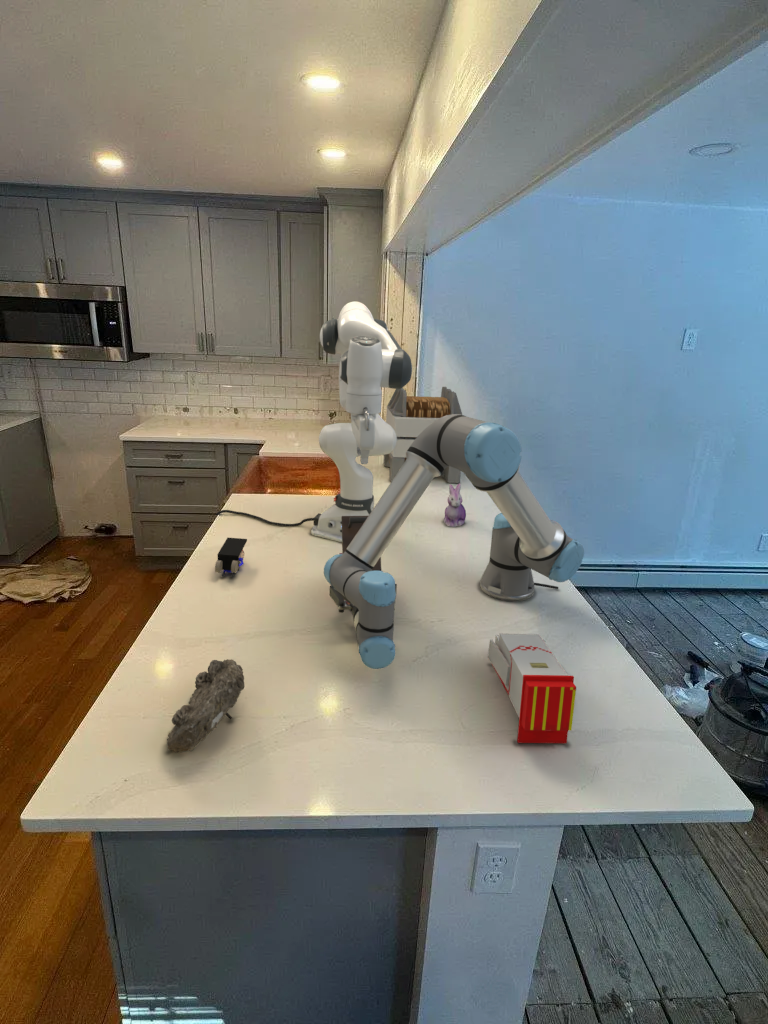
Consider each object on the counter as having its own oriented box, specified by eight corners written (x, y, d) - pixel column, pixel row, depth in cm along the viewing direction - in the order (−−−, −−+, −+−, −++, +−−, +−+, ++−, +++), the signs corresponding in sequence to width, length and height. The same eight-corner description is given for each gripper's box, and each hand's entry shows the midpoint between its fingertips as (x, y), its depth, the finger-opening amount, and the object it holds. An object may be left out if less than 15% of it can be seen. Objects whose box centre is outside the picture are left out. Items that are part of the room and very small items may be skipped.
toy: (536, 617, 130) (585, 683, 100) (531, 671, 132) (578, 750, 103) (483, 616, 129) (518, 682, 100) (479, 670, 132) (511, 749, 103)
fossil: (192, 660, 117) (244, 628, 112) (224, 691, 120) (276, 661, 115) (142, 746, 98) (202, 712, 93) (182, 779, 101) (242, 748, 96)
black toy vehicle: (238, 584, 162) (249, 557, 175) (236, 562, 158) (247, 536, 172) (215, 584, 161) (227, 556, 175) (212, 561, 158) (225, 535, 171)
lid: (341, 517, 151) (343, 508, 143) (378, 516, 153) (382, 508, 144) (342, 573, 147) (345, 567, 139) (380, 572, 149) (385, 566, 140)
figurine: (451, 529, 206) (455, 489, 201) (436, 519, 214) (439, 481, 209) (472, 525, 210) (476, 487, 205) (457, 516, 219) (460, 479, 214)
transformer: (382, 463, 289) (386, 382, 275) (445, 464, 293) (451, 384, 279) (390, 482, 257) (394, 392, 243) (460, 483, 261) (468, 394, 247)
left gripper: (381, 412, 132) (379, 469, 137) (371, 398, 151) (369, 449, 156) (355, 411, 131) (353, 469, 136) (347, 398, 150) (346, 449, 155)
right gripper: (321, 634, 131) (317, 589, 152) (416, 631, 134) (400, 587, 155) (321, 606, 129) (318, 564, 149) (418, 603, 132) (402, 562, 153)
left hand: (362, 458), depth 146 cm, fingers open, 8 cm apart
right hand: (360, 576), depth 152 cm, fingers closed on chest, 10 cm apart
